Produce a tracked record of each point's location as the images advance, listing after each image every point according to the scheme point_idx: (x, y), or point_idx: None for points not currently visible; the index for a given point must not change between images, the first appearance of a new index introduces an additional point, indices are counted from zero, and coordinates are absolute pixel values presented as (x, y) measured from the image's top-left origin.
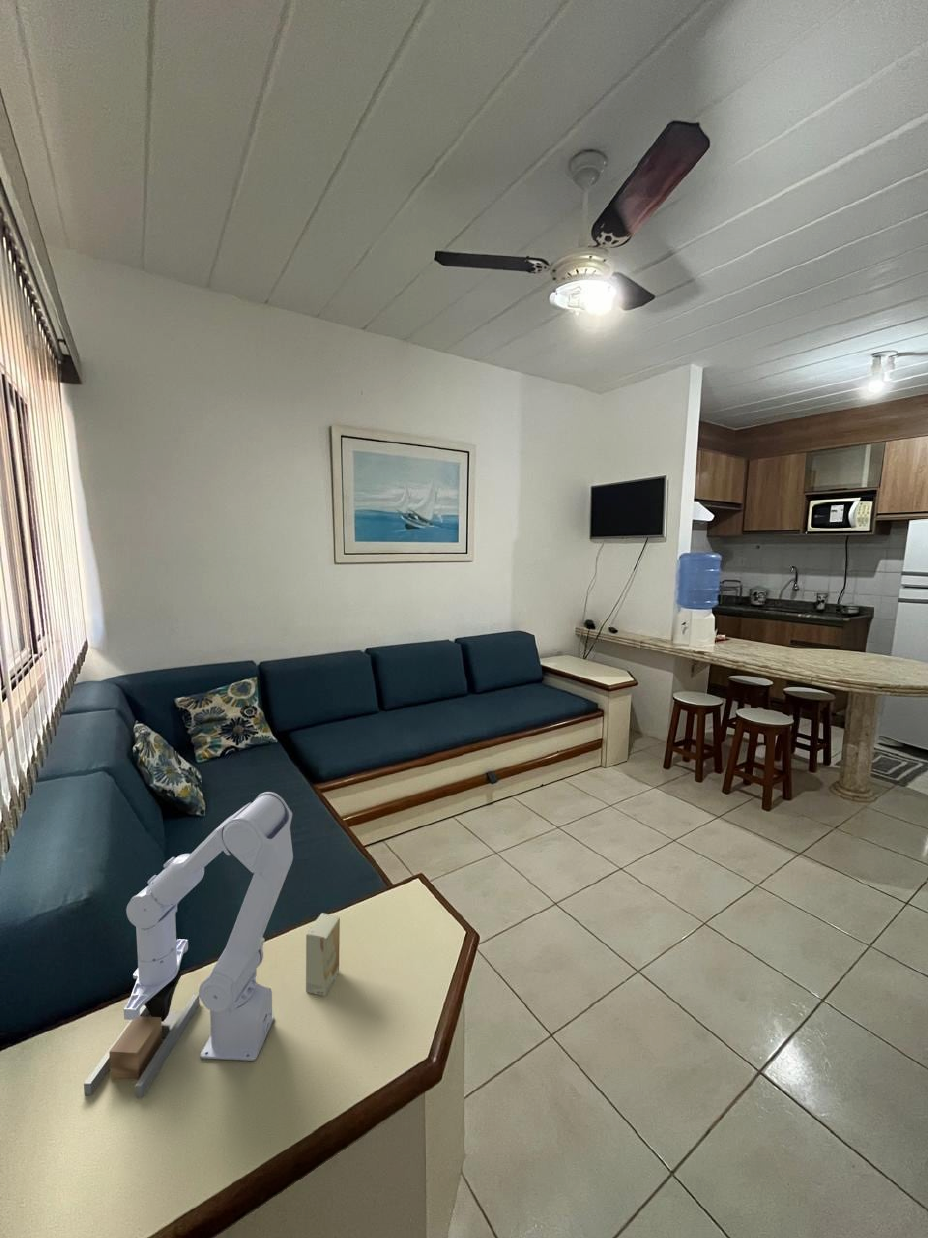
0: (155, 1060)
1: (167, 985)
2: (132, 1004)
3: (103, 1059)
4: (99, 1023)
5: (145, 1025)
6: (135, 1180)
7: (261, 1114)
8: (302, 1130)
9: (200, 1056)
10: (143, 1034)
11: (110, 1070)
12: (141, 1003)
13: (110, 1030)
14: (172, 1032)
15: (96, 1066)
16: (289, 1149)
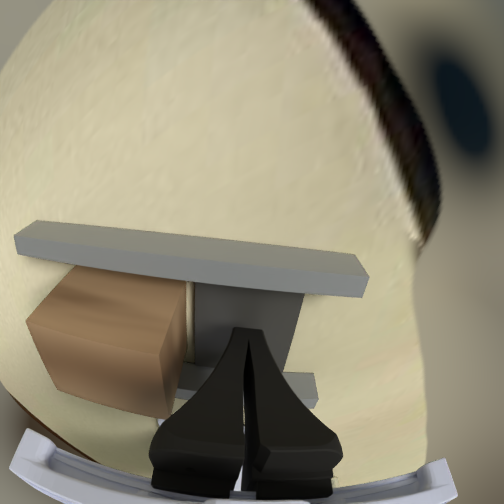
0: None
1: (243, 481)
2: (40, 489)
3: (67, 250)
4: (273, 88)
5: (129, 394)
6: (8, 363)
7: (113, 454)
8: None
9: (158, 419)
10: (101, 395)
11: (64, 277)
12: (63, 501)
13: (235, 155)
14: (182, 395)
15: (47, 241)
16: (96, 461)
